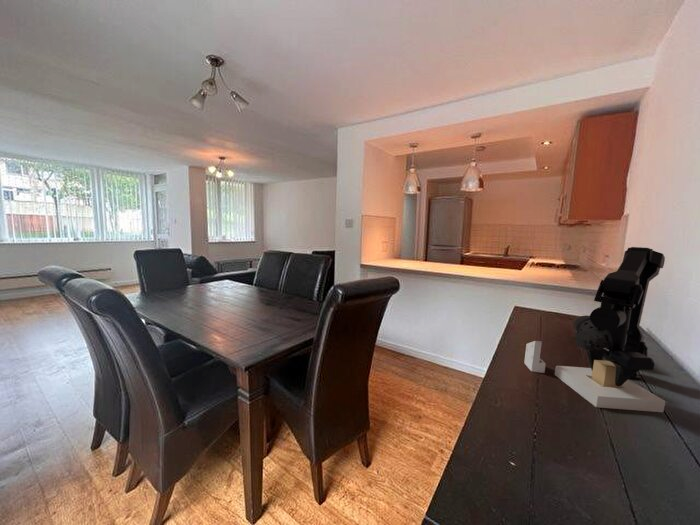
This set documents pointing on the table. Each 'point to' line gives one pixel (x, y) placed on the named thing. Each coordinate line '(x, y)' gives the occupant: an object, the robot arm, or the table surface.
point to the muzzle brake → (585, 327)
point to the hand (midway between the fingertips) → (605, 378)
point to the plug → (604, 373)
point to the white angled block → (534, 357)
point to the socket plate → (609, 391)
